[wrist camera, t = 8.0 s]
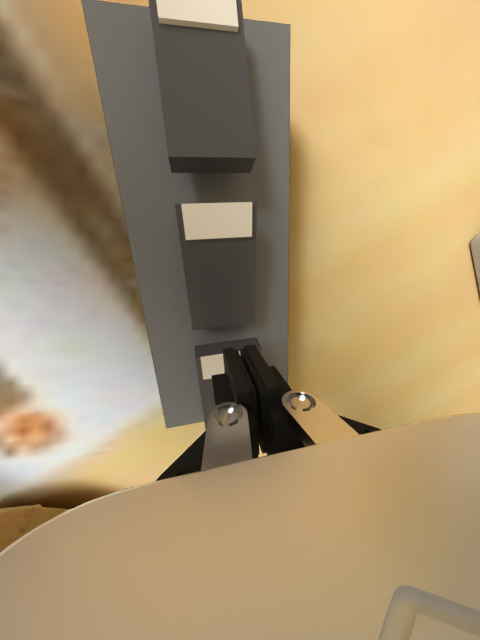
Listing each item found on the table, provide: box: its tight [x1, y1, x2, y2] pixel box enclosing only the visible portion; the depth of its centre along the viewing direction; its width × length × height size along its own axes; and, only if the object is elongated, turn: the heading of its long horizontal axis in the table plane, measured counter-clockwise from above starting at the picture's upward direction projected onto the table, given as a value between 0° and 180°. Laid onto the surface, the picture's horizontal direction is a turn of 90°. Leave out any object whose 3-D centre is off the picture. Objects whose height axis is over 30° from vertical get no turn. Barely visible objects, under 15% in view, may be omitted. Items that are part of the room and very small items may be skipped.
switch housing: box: [81, 0, 290, 428], centre depth 17 cm, size 24×10×6 cm, turn 4°
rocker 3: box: [194, 337, 262, 428], centre depth 15 cm, size 7×4×1 cm, turn 3°
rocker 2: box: [175, 201, 257, 330], centre depth 13 cm, size 7×4×1 cm, turn 3°
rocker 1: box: [149, 0, 256, 173], centre depth 10 cm, size 7×4×1 cm, turn 4°
